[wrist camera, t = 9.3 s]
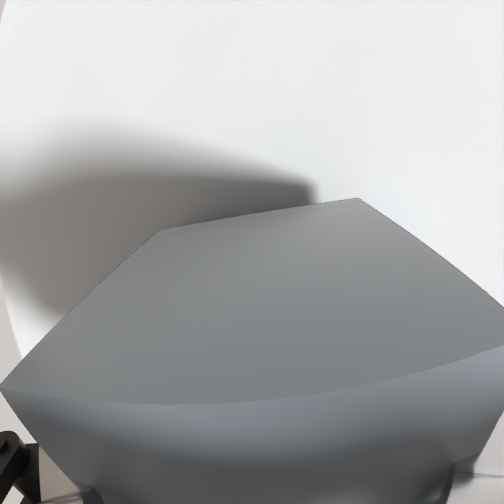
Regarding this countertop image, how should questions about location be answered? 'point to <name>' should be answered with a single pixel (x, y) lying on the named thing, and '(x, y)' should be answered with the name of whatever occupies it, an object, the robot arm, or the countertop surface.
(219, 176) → the countertop surface
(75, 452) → the grey square block
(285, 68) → the countertop surface
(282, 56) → the countertop surface
